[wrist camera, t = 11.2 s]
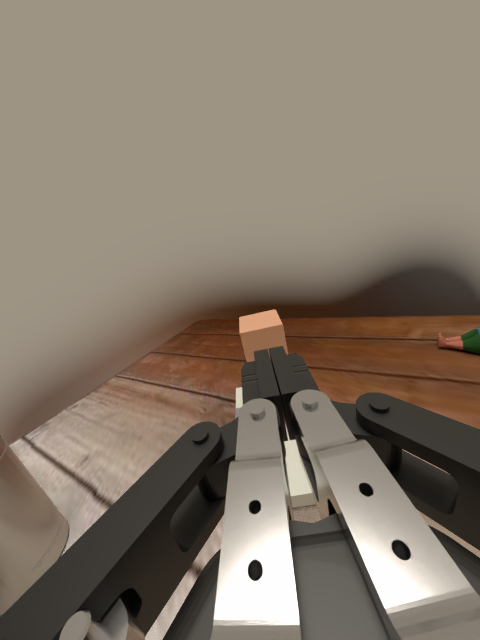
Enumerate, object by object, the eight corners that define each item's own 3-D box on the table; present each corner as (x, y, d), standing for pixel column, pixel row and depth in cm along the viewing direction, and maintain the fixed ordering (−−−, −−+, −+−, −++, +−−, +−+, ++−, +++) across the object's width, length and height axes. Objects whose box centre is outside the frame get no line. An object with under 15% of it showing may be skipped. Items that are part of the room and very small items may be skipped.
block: (263, 428, 35) (239, 333, 30) (260, 401, 41) (239, 317, 35) (300, 421, 35) (282, 324, 29) (291, 395, 41) (275, 309, 35)
